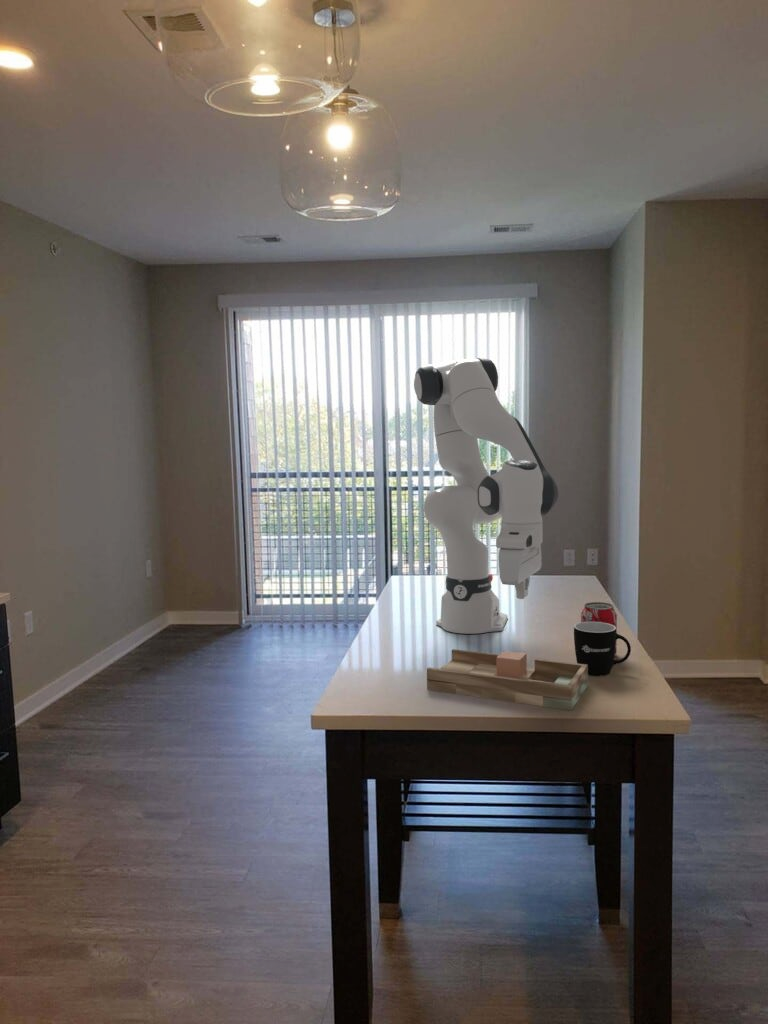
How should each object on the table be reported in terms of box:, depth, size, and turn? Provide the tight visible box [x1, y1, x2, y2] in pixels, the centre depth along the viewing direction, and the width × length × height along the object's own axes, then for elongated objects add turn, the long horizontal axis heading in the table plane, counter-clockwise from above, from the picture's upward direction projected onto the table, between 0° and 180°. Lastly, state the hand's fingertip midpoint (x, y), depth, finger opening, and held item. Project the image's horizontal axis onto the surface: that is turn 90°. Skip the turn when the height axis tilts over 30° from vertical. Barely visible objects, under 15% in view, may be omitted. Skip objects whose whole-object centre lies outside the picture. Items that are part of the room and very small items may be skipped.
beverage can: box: [580, 601, 618, 655], centre depth 176 cm, size 8×8×12 cm
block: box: [496, 650, 528, 679], centre depth 159 cm, size 5×5×4 cm
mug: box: [573, 621, 632, 677], centre depth 164 cm, size 12×9×10 cm
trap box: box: [426, 648, 589, 711], centre depth 156 cm, size 15×30×4 cm, turn 63°
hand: (522, 597), depth 165 cm, fingers closed
